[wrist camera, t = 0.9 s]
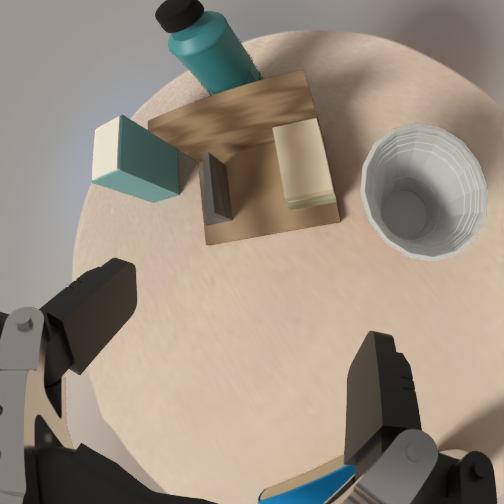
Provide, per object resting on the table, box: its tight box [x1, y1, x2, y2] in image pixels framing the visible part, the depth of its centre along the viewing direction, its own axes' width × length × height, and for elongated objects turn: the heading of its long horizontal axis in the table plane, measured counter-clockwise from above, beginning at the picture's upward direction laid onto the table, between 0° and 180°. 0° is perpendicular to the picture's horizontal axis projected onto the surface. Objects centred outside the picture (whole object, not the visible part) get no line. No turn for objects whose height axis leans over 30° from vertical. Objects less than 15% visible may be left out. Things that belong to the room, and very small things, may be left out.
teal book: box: [92, 115, 180, 203], centre depth 34 cm, size 4×7×12 cm, turn 8°
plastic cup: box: [360, 123, 488, 262], centre depth 24 cm, size 11×11×12 cm
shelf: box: [148, 70, 340, 245], centre depth 30 cm, size 16×12×12 cm
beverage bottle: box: [155, 0, 264, 96], centre depth 27 cm, size 6×7×20 cm
